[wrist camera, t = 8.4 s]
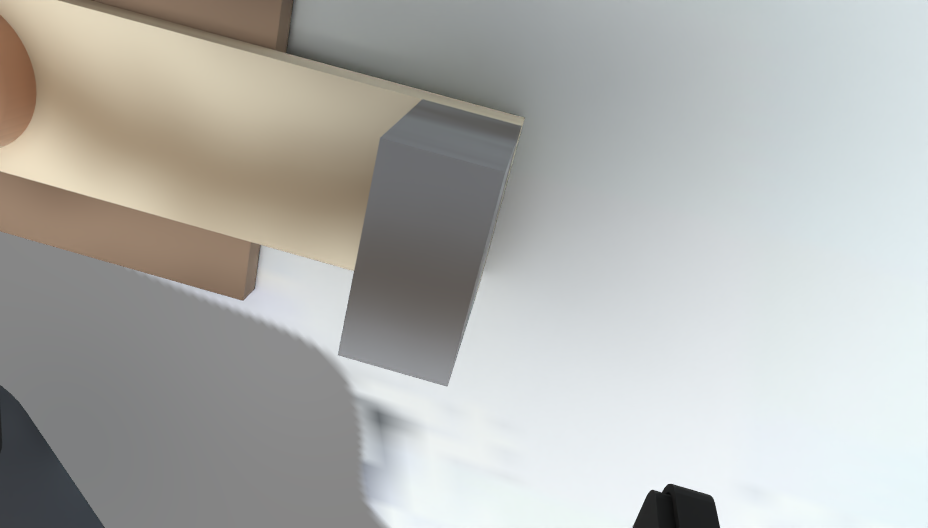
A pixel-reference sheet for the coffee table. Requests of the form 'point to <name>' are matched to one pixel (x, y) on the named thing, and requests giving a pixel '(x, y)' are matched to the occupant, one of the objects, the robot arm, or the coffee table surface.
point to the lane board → (136, 232)
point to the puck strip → (275, 162)
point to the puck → (14, 85)
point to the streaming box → (35, 478)
